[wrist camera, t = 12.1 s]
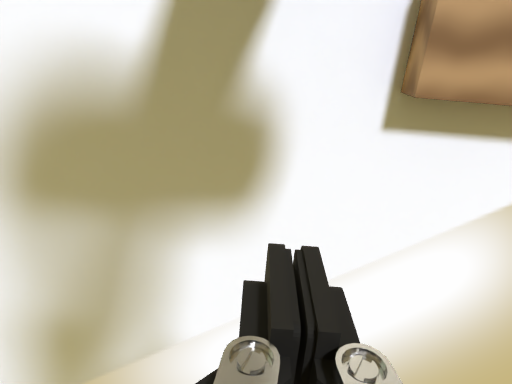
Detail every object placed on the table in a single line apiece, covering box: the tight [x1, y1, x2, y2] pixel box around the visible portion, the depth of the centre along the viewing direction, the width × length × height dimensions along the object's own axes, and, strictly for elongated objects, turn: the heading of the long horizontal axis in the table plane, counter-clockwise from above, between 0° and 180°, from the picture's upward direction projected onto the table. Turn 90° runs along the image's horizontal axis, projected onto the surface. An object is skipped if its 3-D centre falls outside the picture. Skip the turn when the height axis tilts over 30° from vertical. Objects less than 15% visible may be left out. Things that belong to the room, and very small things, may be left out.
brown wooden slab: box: [401, 0, 512, 106], centre depth 36 cm, size 12×16×4 cm
